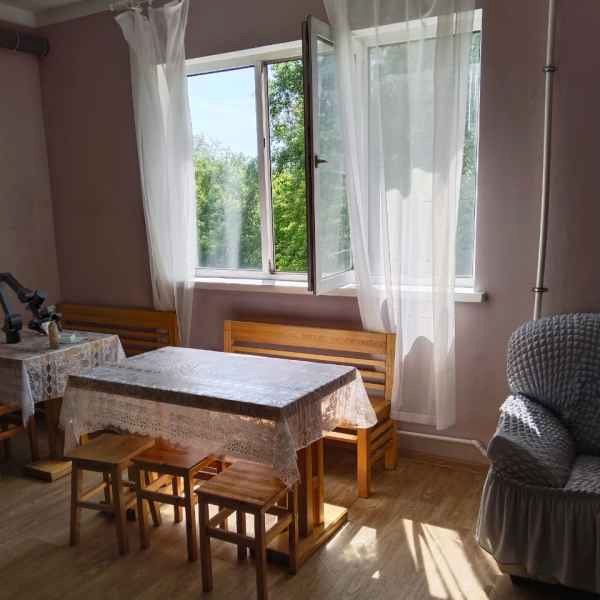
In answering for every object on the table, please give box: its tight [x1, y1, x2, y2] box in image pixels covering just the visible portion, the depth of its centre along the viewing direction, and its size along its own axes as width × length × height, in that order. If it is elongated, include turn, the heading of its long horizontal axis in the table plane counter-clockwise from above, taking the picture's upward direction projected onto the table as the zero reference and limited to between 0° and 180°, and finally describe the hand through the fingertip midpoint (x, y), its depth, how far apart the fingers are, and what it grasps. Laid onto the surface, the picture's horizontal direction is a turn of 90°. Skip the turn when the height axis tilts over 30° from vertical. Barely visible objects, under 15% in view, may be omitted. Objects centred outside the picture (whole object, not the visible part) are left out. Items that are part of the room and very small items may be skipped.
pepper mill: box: [48, 321, 60, 350], centre depth 322 cm, size 5×5×14 cm
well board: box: [44, 333, 86, 345], centre depth 338 cm, size 18×12×3 cm, turn 94°
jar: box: [40, 312, 56, 336], centre depth 354 cm, size 9×8×12 cm
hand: (54, 333), depth 322 cm, fingers open, 9 cm apart
